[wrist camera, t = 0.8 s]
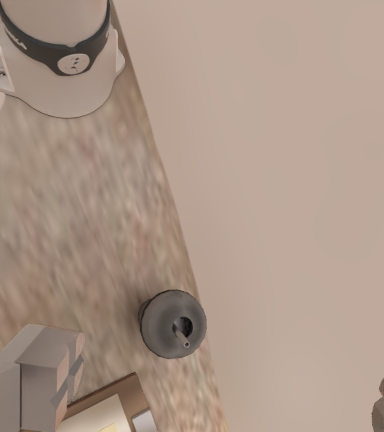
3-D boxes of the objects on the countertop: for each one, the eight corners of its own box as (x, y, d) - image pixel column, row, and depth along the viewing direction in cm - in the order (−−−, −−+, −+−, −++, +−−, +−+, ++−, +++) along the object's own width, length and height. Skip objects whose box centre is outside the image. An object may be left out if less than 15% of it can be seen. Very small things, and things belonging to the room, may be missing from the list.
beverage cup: (189, 313, 50) (251, 330, 31) (154, 354, 48) (197, 398, 29) (154, 277, 50) (195, 272, 31) (117, 316, 47) (136, 337, 28)
